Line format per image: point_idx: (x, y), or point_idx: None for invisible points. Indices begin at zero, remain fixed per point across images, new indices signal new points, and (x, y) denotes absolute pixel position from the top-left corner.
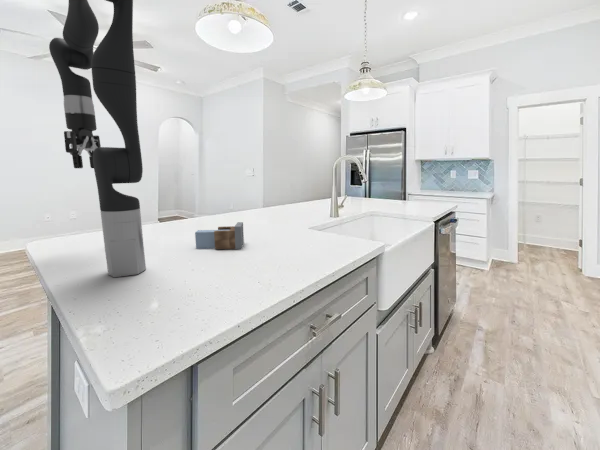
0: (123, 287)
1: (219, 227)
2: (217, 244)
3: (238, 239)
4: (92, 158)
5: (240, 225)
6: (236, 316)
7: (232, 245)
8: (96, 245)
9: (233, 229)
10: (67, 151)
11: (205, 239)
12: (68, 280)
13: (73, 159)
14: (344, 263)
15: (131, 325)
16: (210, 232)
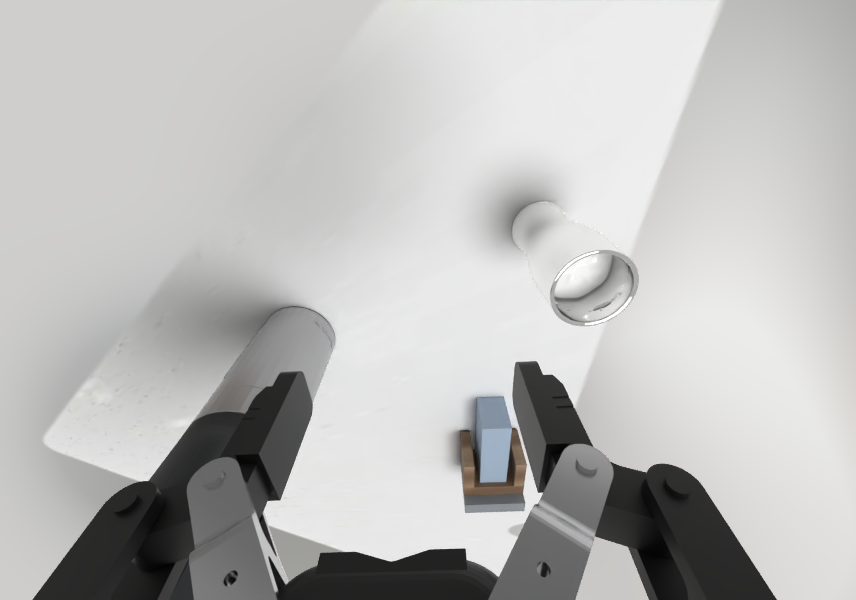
0: (223, 365)
1: (516, 467)
2: (461, 444)
3: (462, 481)
4: (537, 446)
5: (480, 511)
6: None
7: (461, 461)
8: (571, 102)
9: (483, 491)
10: (125, 501)
11: (479, 430)
12: (227, 255)
13: (236, 435)
14: None
15: (125, 420)
16: (481, 453)
